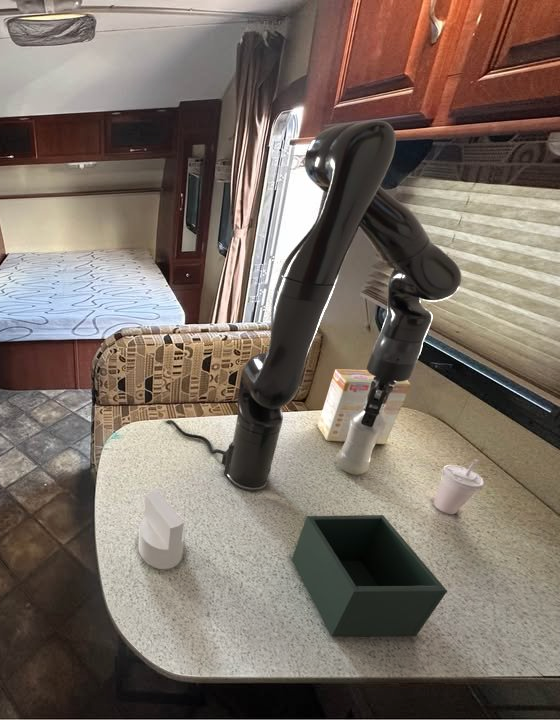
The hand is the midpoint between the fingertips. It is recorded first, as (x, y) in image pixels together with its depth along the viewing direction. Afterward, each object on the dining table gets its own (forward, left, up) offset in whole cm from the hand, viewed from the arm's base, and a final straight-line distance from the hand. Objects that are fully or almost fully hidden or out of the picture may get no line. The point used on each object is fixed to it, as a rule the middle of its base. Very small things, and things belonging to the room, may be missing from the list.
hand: (370, 416), depth 86 cm
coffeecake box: (-3, +15, -17) cm, 23 cm away
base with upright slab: (-23, -51, -16) cm, 58 cm away
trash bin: (+7, -36, -16) cm, 40 cm away
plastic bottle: (0, 0, -17) cm, 17 cm away
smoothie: (+18, 0, -17) cm, 24 cm away
